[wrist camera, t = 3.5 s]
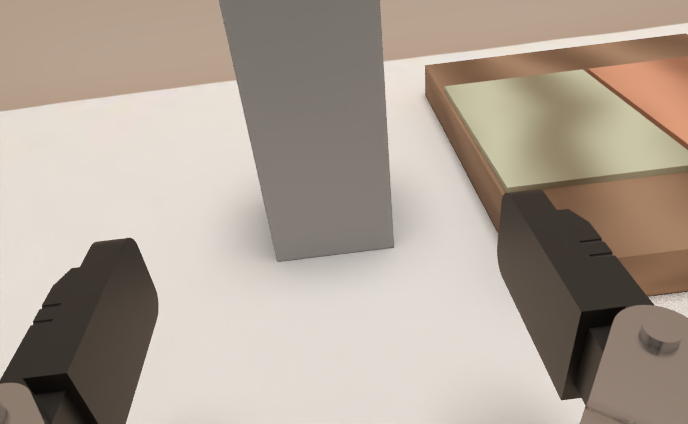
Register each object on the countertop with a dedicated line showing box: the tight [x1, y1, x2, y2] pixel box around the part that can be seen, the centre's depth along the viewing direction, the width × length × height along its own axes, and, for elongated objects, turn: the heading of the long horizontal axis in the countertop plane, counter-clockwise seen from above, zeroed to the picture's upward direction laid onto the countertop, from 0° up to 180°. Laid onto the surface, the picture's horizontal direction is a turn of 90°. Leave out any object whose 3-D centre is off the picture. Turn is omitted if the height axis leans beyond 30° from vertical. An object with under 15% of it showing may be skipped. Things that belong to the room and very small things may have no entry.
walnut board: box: [425, 34, 688, 296], centre depth 26 cm, size 17×20×2 cm
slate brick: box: [219, 0, 394, 262], centre depth 21 cm, size 5×5×13 cm
